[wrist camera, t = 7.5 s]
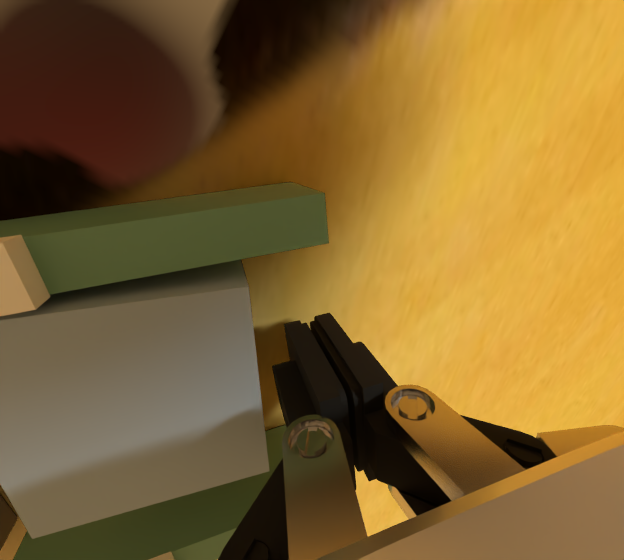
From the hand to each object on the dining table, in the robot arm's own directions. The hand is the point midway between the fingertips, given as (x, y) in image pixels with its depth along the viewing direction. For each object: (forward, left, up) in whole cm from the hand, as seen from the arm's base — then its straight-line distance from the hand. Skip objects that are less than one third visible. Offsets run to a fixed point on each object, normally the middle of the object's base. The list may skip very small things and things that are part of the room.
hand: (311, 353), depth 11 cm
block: (+5, -1, -2) cm, 5 cm away
